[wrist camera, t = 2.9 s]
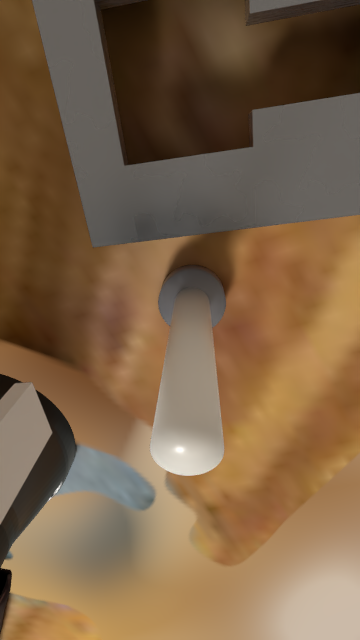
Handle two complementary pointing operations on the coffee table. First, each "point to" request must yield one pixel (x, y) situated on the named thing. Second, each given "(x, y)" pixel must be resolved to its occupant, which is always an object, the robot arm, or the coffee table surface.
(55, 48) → the keyhole plate
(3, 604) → the diary
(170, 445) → the peg
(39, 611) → the coffee table surface
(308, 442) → the coffee table surface
